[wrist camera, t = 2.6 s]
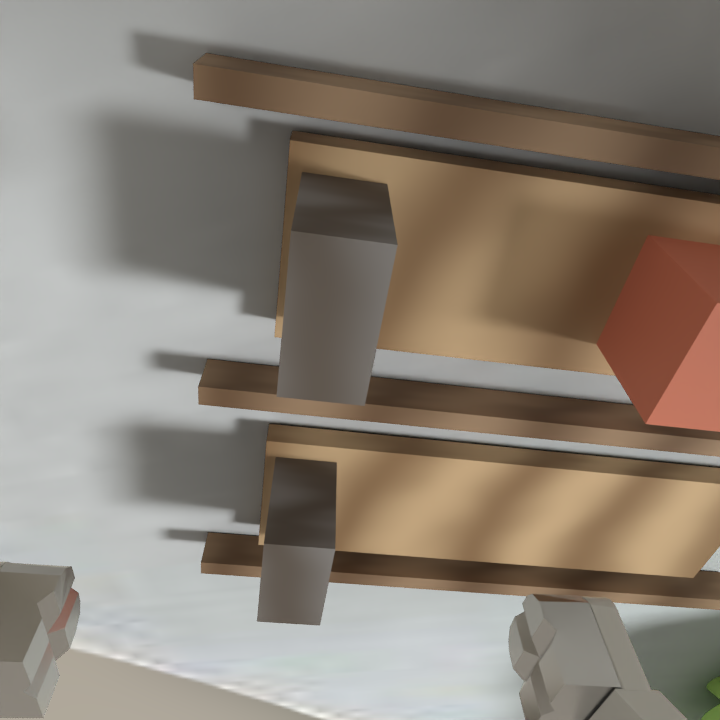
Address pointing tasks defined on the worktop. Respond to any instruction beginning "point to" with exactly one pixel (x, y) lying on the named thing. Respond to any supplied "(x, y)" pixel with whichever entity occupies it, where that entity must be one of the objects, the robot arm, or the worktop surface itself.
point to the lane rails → (446, 402)
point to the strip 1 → (455, 260)
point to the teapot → (718, 716)
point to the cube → (669, 334)
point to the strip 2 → (469, 510)
